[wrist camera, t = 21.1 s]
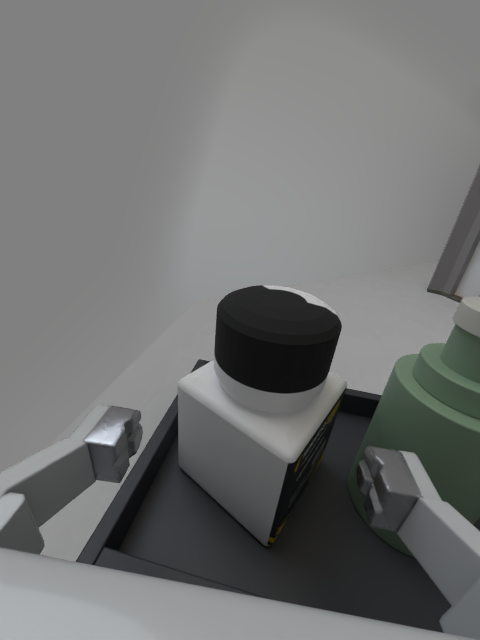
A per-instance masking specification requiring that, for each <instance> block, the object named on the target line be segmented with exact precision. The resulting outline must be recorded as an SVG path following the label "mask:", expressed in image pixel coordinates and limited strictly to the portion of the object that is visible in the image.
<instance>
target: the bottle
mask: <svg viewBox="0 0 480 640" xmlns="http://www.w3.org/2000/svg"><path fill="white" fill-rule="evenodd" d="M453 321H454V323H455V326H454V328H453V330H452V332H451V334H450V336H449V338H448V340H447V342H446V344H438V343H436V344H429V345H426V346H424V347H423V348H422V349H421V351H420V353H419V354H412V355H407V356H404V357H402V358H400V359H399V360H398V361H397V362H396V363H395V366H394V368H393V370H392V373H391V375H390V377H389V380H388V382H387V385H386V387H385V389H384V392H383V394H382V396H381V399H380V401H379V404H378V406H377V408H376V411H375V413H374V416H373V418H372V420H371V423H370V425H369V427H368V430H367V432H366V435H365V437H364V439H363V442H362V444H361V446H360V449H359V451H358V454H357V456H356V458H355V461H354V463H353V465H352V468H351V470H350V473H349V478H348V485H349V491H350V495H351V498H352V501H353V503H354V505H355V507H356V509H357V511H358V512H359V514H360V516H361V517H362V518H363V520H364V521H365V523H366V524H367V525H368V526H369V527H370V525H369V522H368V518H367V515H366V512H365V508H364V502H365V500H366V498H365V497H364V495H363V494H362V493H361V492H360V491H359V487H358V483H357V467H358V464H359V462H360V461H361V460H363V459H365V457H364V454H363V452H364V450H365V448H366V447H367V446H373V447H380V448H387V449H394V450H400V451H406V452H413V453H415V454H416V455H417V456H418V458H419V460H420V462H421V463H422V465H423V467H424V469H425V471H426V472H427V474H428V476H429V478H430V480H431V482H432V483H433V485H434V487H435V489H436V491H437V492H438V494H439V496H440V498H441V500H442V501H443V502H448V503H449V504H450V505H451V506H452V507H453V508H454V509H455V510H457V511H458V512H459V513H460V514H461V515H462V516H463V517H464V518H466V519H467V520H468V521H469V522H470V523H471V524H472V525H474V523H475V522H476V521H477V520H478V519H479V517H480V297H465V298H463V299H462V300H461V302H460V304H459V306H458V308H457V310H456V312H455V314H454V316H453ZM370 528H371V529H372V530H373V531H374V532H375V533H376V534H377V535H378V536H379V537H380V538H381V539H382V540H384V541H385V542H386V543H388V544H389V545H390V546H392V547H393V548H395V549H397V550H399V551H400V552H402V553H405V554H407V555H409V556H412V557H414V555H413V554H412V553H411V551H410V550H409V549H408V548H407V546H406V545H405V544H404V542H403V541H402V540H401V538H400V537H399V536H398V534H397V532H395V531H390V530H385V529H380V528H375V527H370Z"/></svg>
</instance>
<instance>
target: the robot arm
mask: <svg viewBox="0 0 480 640" xmlns="http://www.w3.org/2000/svg"><path fill="white" fill-rule="evenodd" d="M140 419H141V412H140V411H138V410H133V409H128V408H122V407H117V406H110V405H105V404H98V405H96V406H95V407H94V408H93V409H92V410H91V412H90V413H89V414H88V415H87V416H86V418H85V419H84V420H83V421H82V422H81V424H80V425H79V426H78V427H77V428H76V430H75V431H74V432H73V433H72V434H71V436H70V437H69V438H68V439H62V440H60V441H58V442H56V443H54V444H53V445H51V446H49V447H47V448H45V449H43V450H41V451H39V452H38V453H36V454H34V455H32V456H30V457H28V458H27V459H24V460H23V461H21V462H19V463H17V464H15V465H13V466H11V467H9V468H7V469H6V470H4V471H2V472H0V640H480V531H479V530H478V529H477V528H476V527H475V526H473V525H472V524H471V523H470V522H469V521H468V520H467V519H466V518H464V517H463V516H462V515H461V514H460V513H459V512H458V511H457V510H455V509H454V508H453V507H452V506H451V505H450V504H449V503H448V502H443V501H442V500H441V498H440V496H439V494H438V492H437V491H436V489H435V487H434V485H433V483H432V482H431V480H430V478H429V476H428V474H427V472H426V471H425V469H424V467H423V465H422V463H421V462H420V460H419V458H418V456H417V455H416V454H415V453H413V452H406V451H400V450H394V449H387V448H380V447H373V446H367V447H366V448H365V450H364V452H363V454H364V457H365V459H363V460H361V461H360V462H359V464H358V467H357V483H358V487H359V491H360V492H361V493H362V494H363V495H364V497H365V498H366V500H365V502H364V508H365V512H366V515H367V518H368V522H369V525H370V527H375V528H380V529H385V530H390V531H395V532H397V534H398V536H399V537H400V538H401V540H402V541H403V542H404V544H405V545H406V546H407V548H408V549H409V550H410V551H411V553H412V554H413V555H414V557H415V558H416V559H417V561H418V562H419V563H420V565H421V566H422V567H423V569H424V570H425V571H426V573H427V574H428V575H429V577H430V578H431V579H432V581H433V582H434V583H435V585H436V586H437V587H438V589H439V590H440V591H441V592H442V594H443V595H444V596H445V598H446V599H447V600H448V602H449V603H450V604H451V607H450V608H449V609H448V610H447V611H446V612H445V613H444V614H443V615H442V617H441V619H440V621H439V622H440V625H441V628H442V630H443V633H442V632H436V631H431V630H426V629H421V628H416V627H411V626H405V625H400V624H395V623H390V622H385V621H380V620H374V619H369V618H364V617H359V616H354V615H349V614H343V613H338V612H333V611H328V610H323V609H317V608H312V607H307V606H302V605H297V604H292V603H286V602H281V601H276V600H271V599H266V598H261V597H255V596H250V595H245V594H240V593H235V592H230V591H224V590H219V589H214V588H209V587H204V586H199V585H193V584H188V583H183V582H178V581H173V580H167V579H162V578H157V577H152V576H147V575H142V574H136V573H131V572H126V571H121V570H116V569H110V568H105V567H100V566H95V565H90V564H84V563H79V562H74V561H69V560H64V559H58V558H53V557H48V556H43V555H39V554H40V553H41V551H42V550H43V548H44V540H43V538H42V535H41V533H40V531H39V527H40V526H41V525H43V524H44V523H45V522H46V521H47V520H49V519H50V518H51V517H52V516H54V515H55V514H56V513H57V512H59V511H60V510H61V509H62V508H63V507H65V506H66V505H67V504H68V503H70V502H71V501H72V500H73V499H75V498H76V497H77V496H78V495H79V494H81V493H82V492H83V491H84V490H86V489H87V488H88V487H89V486H91V485H92V484H93V483H94V482H95V481H96V480H101V481H108V482H115V483H120V482H121V481H122V479H123V477H124V475H125V473H126V471H127V469H128V467H129V465H130V464H129V458H130V457H132V456H133V455H135V454H136V452H137V450H138V448H139V446H140V442H141V439H142V426H141V425H140V424H139V421H140Z"/></svg>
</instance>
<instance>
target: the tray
mask: <svg viewBox="0 0 480 640" xmlns="http://www.w3.org/2000/svg"><path fill="white" fill-rule="evenodd" d="M209 362H211V361H205V360H200V359H199V360H198V362H197V363H196V365H195V366H194V368H193V370H192V371H191V373H192V372H194V371H195V370H197V369H199V368H200V367H202V366H204V365H205V364H207V363H209ZM381 396H382V395H377V394H372V393H367V392H362V391H357V390H352V389H347V388H346V390H345V393H344V396H343V399H342V402H341V405H340V408H339V411H338V414H337V417H336V420H335V423H334V426H333V428H332V431H331V434H330V437H329V440H328V443H327V446H326V449H325V452H324V455H323V458H322V460H321V462H320V464H319V465H318V467H317V469H316V470H315V472H314V474H313V476H312V477H311V479H310V481H309V482H308V484H307V486H306V488H305V489H304V491H303V493H302V494H301V496H300V498H299V500H298V501H297V503H296V505H295V506H294V508H293V510H292V512H291V513H290V515H289V517H288V518H287V520H286V522H285V524H284V525H283V527H282V529H281V530H280V532H279V534H278V535H277V537H276V539H275V541H274V542H273V543H272V544H271V545H270V546H265V545H263V544H262V543H261V542H260V541H259V540H258V539H256V538H255V537H254V536H253V535H252V534H251V533H250V532H249V531H248V530H247V529H246V528H245V527H244V526H243V525H241V524H240V523H239V522H238V521H237V520H236V519H235V518H234V517H233V516H232V515H231V514H230V513H229V512H227V511H226V510H225V509H224V508H223V507H222V506H221V505H220V504H219V503H218V502H217V501H216V500H215V499H214V498H212V497H211V496H210V495H209V494H208V493H207V492H206V491H205V490H204V489H203V488H202V487H201V486H200V485H198V484H197V483H196V482H195V481H194V480H193V479H192V478H191V477H190V476H189V475H188V474H187V473H186V472H185V471H183V470H182V469H181V468H180V466H179V453H178V394H177V396H176V398H175V399H174V401H173V403H172V404H171V406H170V408H169V409H168V411H167V412H166V414H165V416H164V417H163V419H162V421H161V422H160V424H159V426H158V427H157V429H156V431H155V432H154V434H153V435H152V437H151V439H150V440H149V442H148V444H147V445H146V447H145V449H144V450H143V452H142V454H141V455H140V457H139V458H138V460H137V462H136V463H135V465H134V467H133V468H132V470H131V472H130V473H129V475H128V477H127V478H126V480H125V481H124V483H123V485H122V486H121V488H120V490H119V491H118V493H117V495H116V496H115V498H114V500H113V501H112V503H111V504H110V506H109V508H108V509H107V511H106V513H105V514H104V516H103V518H102V519H101V521H100V523H99V524H98V526H97V527H96V529H95V531H94V532H93V534H92V536H91V537H90V539H89V541H88V542H87V544H86V546H85V547H84V549H83V550H82V552H81V554H80V555H79V557H78V559H77V560H76V562H79V563H84V564H90V565H95V566H100V567H105V568H110V569H116V570H121V571H126V572H131V573H136V574H142V575H147V576H152V577H157V578H162V579H167V580H173V581H178V582H183V583H188V584H193V585H199V586H204V587H209V588H214V589H219V590H224V591H230V592H235V593H240V594H245V595H250V596H255V597H261V598H266V599H271V600H276V601H281V602H286V603H292V604H297V605H302V606H307V607H312V608H317V609H323V610H328V611H333V612H338V613H343V614H349V615H354V616H359V617H364V618H369V619H374V620H380V621H385V622H390V623H395V624H400V625H405V626H411V627H416V628H421V629H426V630H431V631H436V632H442V633H443V630H442V628H441V625H440V622H439V621H440V619H441V617H442V615H443V614H444V613H445V612H446V611H447V610H448V609H449V608H450V607H451V604H450V603H449V602H448V600H447V599H446V598H445V596H444V595H443V594H442V592H441V591H440V590H439V589H438V587H437V586H436V585H435V583H434V582H433V581H432V579H431V578H430V577H429V575H428V574H427V573H426V571H425V570H424V569H423V567H422V566H421V565H420V563H419V562H418V561H417V559H416V558H415V557H412V556H409V555H407V554H405V553H402V552H400V551H399V550H397V549H395V548H393V547H392V546H390V545H389V544H388V543H386V542H385V541H384V540H382V539H381V538H380V537H379V536H378V535H377V534H376V533H375V532H374V531H373V530H372V529H371V528H370V527H369V526H368V525H367V524H366V523H365V521H364V520H363V518H362V517H361V516H360V514H359V512H358V511H357V509H356V507H355V505H354V503H353V501H352V498H351V495H350V491H349V485H348V478H349V473H350V470H351V468H352V465H353V463H354V461H355V458H356V456H357V454H358V451H359V449H360V446H361V444H362V442H363V439H364V437H365V435H366V432H367V430H368V427H369V425H370V423H371V420H372V418H373V416H374V413H375V411H376V408H377V406H378V404H379V401H380V399H381ZM473 526H475V527H476V528H477V529H478V530H479V531H480V517H479V519H478V520H477V521H476V522H475V523H474V525H473Z"/></svg>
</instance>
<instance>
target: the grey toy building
mask: <svg viewBox="0 0 480 640" xmlns="http://www.w3.org/2000/svg"><path fill="white" fill-rule="evenodd" d="M427 292H432V293H436V294H441V295H443V296H446V297H448V298H451V299H453V300H455V301H458V302H461V300H462V299H463V298H465V297H480V165H479V168H478V170H477V172H476V175H475V177H474V179H473V182H472V184H471V187H470V189H469V191H468V194H467V196H466V198H465V201H464V203H463V206H462V208H461V210H460V213H459V215H458V218H457V220H456V222H455V225H454V227H453V229H452V232H451V234H450V236H449V239H448V241H447V244H446V246H445V249H444V251H443V253H442V255H441V258H440V260H439V263H438V265H437V267H436V270H435V272H434V274H433V277H432V279H431V282H430V284H429V286H428V289H427Z"/></svg>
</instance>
